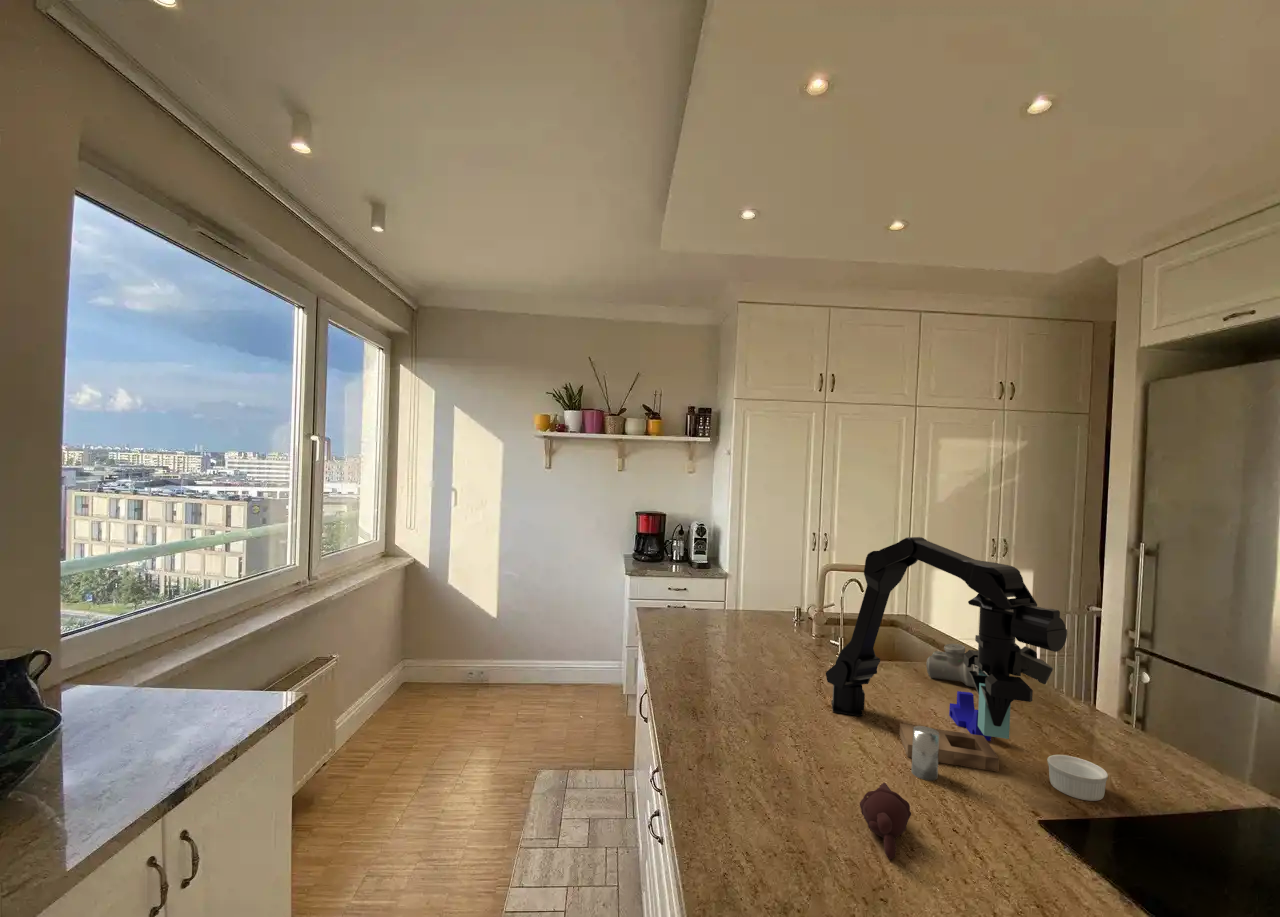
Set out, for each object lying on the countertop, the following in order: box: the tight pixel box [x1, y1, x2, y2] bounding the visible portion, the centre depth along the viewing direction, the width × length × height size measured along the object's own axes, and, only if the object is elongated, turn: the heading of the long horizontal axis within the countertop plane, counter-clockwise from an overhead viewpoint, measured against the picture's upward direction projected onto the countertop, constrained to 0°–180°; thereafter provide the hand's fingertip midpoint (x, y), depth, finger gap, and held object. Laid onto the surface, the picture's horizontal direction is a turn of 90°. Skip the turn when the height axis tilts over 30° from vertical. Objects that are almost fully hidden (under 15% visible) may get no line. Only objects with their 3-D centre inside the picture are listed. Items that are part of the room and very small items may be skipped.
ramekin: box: [1046, 754, 1109, 802], centre depth 108 cm, size 9×9×4 cm
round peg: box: [910, 725, 939, 782], centre depth 111 cm, size 4×4×8 cm
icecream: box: [859, 782, 912, 860], centre depth 93 cm, size 7×7×15 cm
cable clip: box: [948, 690, 992, 742], centre depth 133 cm, size 12×4×6 cm, turn 170°
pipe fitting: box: [926, 643, 976, 688], centre depth 162 cm, size 12×8×10 cm
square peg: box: [977, 683, 1012, 740], centre depth 108 cm, size 4×4×8 cm
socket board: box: [898, 723, 1000, 772], centre depth 120 cm, size 16×10×2 cm, turn 75°
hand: (993, 721), depth 108 cm, fingers closed on square peg, 4 cm apart
